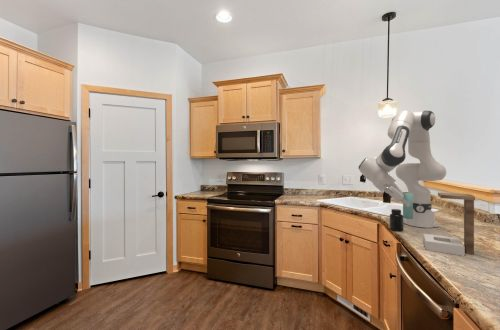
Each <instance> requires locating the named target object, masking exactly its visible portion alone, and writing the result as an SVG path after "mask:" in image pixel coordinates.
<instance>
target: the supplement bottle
mask: <svg viewBox="0 0 500 330" xmlns="http://www.w3.org/2000/svg"><path fill="white" fill-rule="evenodd" d="M403 220H404V218H403V213H402V210H401V209H399V208H391V213H390V214H389V230H390V231H393V232H400V233H401V232H403V231H404V228H405V227H404V223H403Z"/></svg>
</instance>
